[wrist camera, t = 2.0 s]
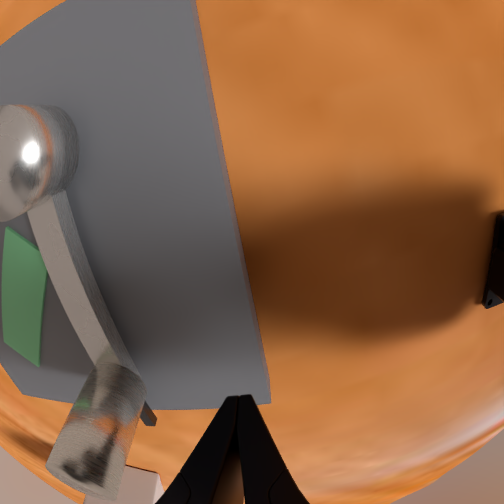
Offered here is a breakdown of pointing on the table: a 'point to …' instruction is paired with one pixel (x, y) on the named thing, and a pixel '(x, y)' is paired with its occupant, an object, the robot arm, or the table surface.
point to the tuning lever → (72, 299)
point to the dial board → (133, 209)
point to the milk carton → (134, 488)
